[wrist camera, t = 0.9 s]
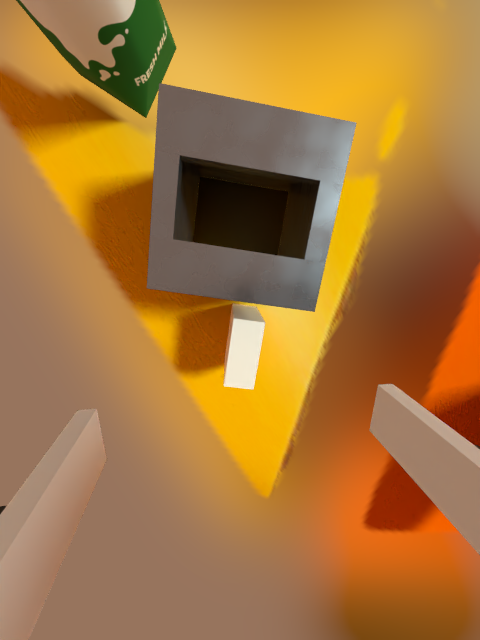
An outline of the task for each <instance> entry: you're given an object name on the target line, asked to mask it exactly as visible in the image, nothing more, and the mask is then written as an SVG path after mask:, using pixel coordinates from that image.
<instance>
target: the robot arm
mask: <svg viewBox="0 0 480 640" xmlns="http://www.w3.org/2000/svg"><path fill="white" fill-rule="evenodd" d="M370 431H371V433H372V434H373V435H374V436H375V437H376V438H377V439H378V440H379V442H380V443H381V444H382V445H383V446H384V447H385V448H386V450H387V451H388V452H389V453H390V454H391V455H392V456H393V457H394V459H395V460H396V461H397V462H398V463H399V464H400V465H401V467H402V468H403V469H404V470H405V471H406V472H407V473H408V474H409V476H410V477H411V478H412V479H413V480H414V481H415V482H416V483H417V485H418V486H419V487H420V488H421V489H422V490H423V491H424V493H425V494H426V495H427V496H428V497H429V498H430V499H431V500H432V502H433V503H434V504H435V505H436V506H437V507H438V508H439V509H440V511H441V512H442V513H443V514H444V515H445V516H446V517H447V519H448V520H449V521H450V522H451V523H452V524H453V525H454V526H455V528H456V529H457V530H458V531H459V532H460V533H461V534H462V535H463V536H464V538H465V539H466V540H467V541H468V542H469V543H470V545H471V546H472V547H473V548H474V549H475V550H476V551H477V552H478V554H479V555H480V446H478V445H473V444H472V443H470V442H469V441H468V440H466V439H465V438H464V437H462V436H461V435H460V434H458V433H457V432H456V431H454V430H453V429H452V428H450V427H449V426H448V425H446V424H445V423H444V422H442V421H441V420H440V419H438V418H437V417H436V416H434V415H433V414H432V413H430V412H429V411H428V410H426V409H425V408H424V407H422V406H421V405H420V404H418V403H417V402H416V401H414V400H413V399H412V398H410V397H409V396H408V395H406V394H405V393H404V392H402V391H401V390H400V389H398V388H397V387H396V386H394V385H393V384H384V385H378V389H377V394H376V399H375V404H374V410H373V415H372V420H371V425H370ZM106 460H107V457H106V452H105V447H104V443H103V437H102V432H101V427H100V422H99V417H98V412H97V409H86V410H77V411H76V413H75V414H74V415H73V417H72V418H71V420H70V421H69V422H68V424H67V425H66V426H65V428H64V429H63V430H62V432H61V433H60V434H59V436H58V437H57V438H56V440H55V441H54V443H53V444H52V445H51V447H50V448H49V449H48V451H47V452H46V454H45V455H44V456H43V458H42V459H41V460H40V462H39V463H38V464H37V466H36V467H35V468H34V470H33V471H32V472H31V474H30V475H29V476H28V478H27V479H26V480H25V482H24V483H23V485H22V486H21V487H20V489H19V490H18V492H17V493H16V494H15V495H14V497H13V498H12V500H11V501H10V502H9V504H8V505H7V506H1V507H0V640H28V639H29V637H30V635H31V632H32V630H33V628H34V626H35V623H36V621H37V619H38V617H39V614H40V612H41V609H42V607H43V605H44V603H45V601H46V598H47V596H48V594H49V591H50V589H51V587H52V584H53V582H54V580H55V578H56V575H57V573H58V571H59V568H60V566H61V564H62V562H63V559H64V557H65V555H66V552H67V550H68V548H69V545H70V543H71V541H72V539H73V536H74V534H75V532H76V529H77V527H78V525H79V522H80V520H81V518H82V516H83V513H84V511H85V509H86V506H87V504H88V502H89V500H90V497H91V495H92V493H93V490H94V488H95V486H96V483H97V481H98V479H99V476H100V474H101V472H102V470H103V467H104V465H105V463H106Z"/></svg>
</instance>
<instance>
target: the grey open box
mask: <svg viewBox="0 0 480 640" xmlns="http://www.w3.org/2000/svg"><path fill="white" fill-rule="evenodd" d="M355 127H356V123H355V122H350V121H345V120H340V119H335V118H330V117H324V116H320V115H315V114H309V113H305V112H300V111H295V110H290V109H285V108H280V107H275V106H270V105H265V104H259V103H255V102H250V101H245V100H240V99H235V98H230V97H225V96H220V95H215V94H211V93H206V92H201V91H196V90H190V89H185V88H181V87H175V86H170V85H166V84H161V83H159V94H158V110H157V128H156V144H155V160H154V177H153V194H152V210H151V227H150V243H149V260H148V277H147V288H148V289H155V290H162V291H169V292H177V293H184V294H191V295H198V296H205V297H213V298H220V299H227V300H234V301H241V302H248V303H256V304H263V305H270V306H277V307H284V308H292V309H299V310H306V311H313V312H315V307H316V303H317V298H318V294H319V289H320V285H321V280H322V276H323V271H324V267H325V262H326V258H327V253H328V249H329V244H330V240H331V235H332V231H333V226H334V222H335V217H336V213H337V208H338V204H339V199H340V195H341V190H342V186H343V181H344V177H345V172H346V167H347V163H348V159H349V154H350V149H351V145H352V141H353V136H354V131H355ZM200 177H206V178H212V179H218V180H223V181H229V182H235V183H240V184H246V185H252V186H258V187H263V188H269V189H275V190H280V191H286V192H289V193H288V199H287V204H286V210H285V216H284V221H283V227H282V233H281V238H280V244H279V250H278V255H271V254H265V253H258V252H252V251H246V250H239V249H233V248H226V247H220V246H213V245H207V244H200V243H194V242H193V241H194V231H195V221H196V211H197V201H198V191H199V181H200Z"/></svg>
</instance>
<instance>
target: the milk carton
mask: <svg viewBox="0 0 480 640" xmlns="http://www.w3.org/2000/svg"><path fill="white" fill-rule="evenodd" d="M16 1H18V3H19V4H20V5H21V7H22V8H23V9H24V10H25V11H26V13H27V14H28V15H29V16H30V18H31V19H32V20H33V21H34V22H35V24H36V25H37V26H38V27H39V28H40V30H41V31H42V32H43V33H44V34H45V36H46V37H47V38H48V39H49V40H50V42H51V43H52V44H53V45H54V46H55V48H56V49H57V50H58V51H59V53H60V54H61V55H62V56H63V57H64V58H65V59H66V60H67V61H68V62H69V63H70V64H71V66H72V67H73V68H74V69H75V70H76V71H77V72H78V73H79V74H80V75H81V76H83V77H84V78H86V79H88V80H89V81H90V82H92V83H94V84H95V85H97V86H98V87H100V88H101V89H103V90H104V91H106V92H107V93H109V94H110V95H112V96H113V97H115V98H117V99H118V100H119V101H121V102H123V103H124V104H125V105H127V106H129V107H130V108H132V109H133V110H135V111H136V112H138V113H139V114H141V115H142V116H144V117H145V118H146V117H147V114H148V112H149V110H150V108H151V105H152V103H153V101H154V99H155V96H156V94H157V91H158V89H159V83H161V82H162V80H163V78H164V75H165V73H166V71H167V69H168V66H169V64H170V61H171V59H172V57H173V54H174V52H175V50H176V46H175V43H174V40H173V38H172V35H171V32H170V29H169V27H168V24H167V21H166V18H165V15H164V13H163V10H162V7H161V4H160V2H159V0H16Z"/></svg>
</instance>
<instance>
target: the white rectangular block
mask: <svg viewBox="0 0 480 640" xmlns="http://www.w3.org/2000/svg"><path fill="white" fill-rule="evenodd" d="M264 327H265V321H264V320H263V318H262V316H261V314H260V312H259V311H258V309H257V307H255V306H248V305H240V304H233V303H232V310H231V317H230V324H229V331H228V339H227V346H226V353H225V369H224V386H227V387H236V388H245V389H254V384H255V378H256V372H257V367H258V361H259V355H260V350H261V344H262V338H263V333H264Z"/></svg>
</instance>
